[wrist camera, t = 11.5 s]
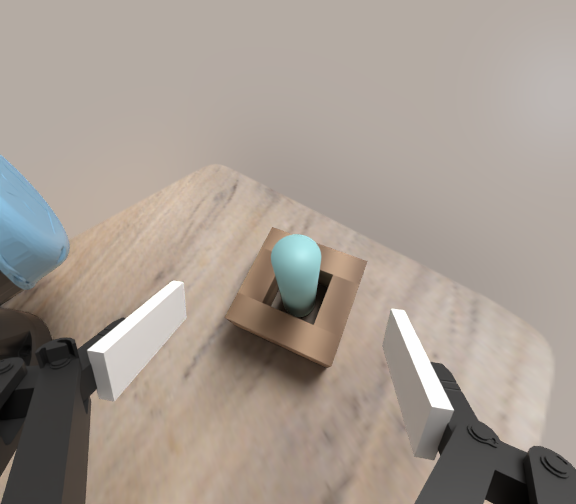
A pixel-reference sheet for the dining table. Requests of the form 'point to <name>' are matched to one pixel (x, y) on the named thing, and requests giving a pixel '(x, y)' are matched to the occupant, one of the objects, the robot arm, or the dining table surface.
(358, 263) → the socket block
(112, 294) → the dining table surface
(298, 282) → the dowel
